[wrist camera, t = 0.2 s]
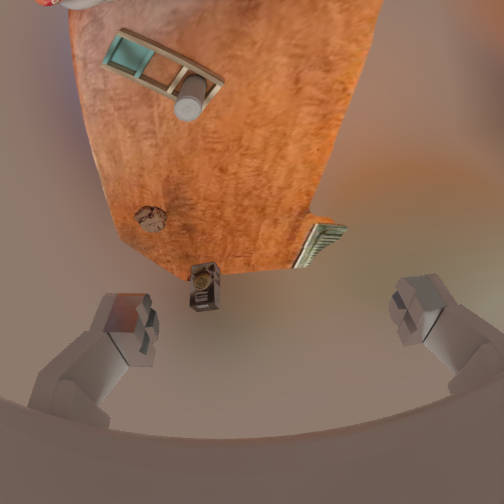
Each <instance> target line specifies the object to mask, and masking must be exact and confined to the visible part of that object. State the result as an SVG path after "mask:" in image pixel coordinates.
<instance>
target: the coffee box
mask: <svg viewBox="0 0 504 504" xmlns="http://www.w3.org/2000/svg"><path fill="white" fill-rule="evenodd" d="M190 307H191V308H193V309H194V310H195V311H196V312H201V311H209V310H216V309H220V269H219V268H218V266H217V265H216V263H215V262H210V263H205V264H199V265H194V266H192V271H191V288H190Z"/></svg>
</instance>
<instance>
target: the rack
mask: <svg viewBox="0 0 504 504" xmlns="http://www.w3.org/2000/svg"><path fill="white" fill-rule="evenodd" d="M122 39H123V40H122ZM121 41H122V42H121ZM120 42H121V43H120ZM119 44H120V45H119ZM118 46H119V47H118ZM117 48H118V49H117ZM116 50H117V51H116ZM115 52H116V53H115ZM155 52H156V53H159V54H161V55H163V56H165V57H167V58H169V59H171V60H173V61H175V62H177V63H179V64H181V65H182V66H183V67H182V69H181V70H180V71H179V73H178V74H177V76H176V77H175V79H174V80H173V82H172V83H171V85H170V86H169V87H167V86H165V85H163V84H161V83H159V82H157V81H155V80H153V79H151V78H149V77H147V76H145V75H142V73H143V71H144V69H145V68H146V66H147V64H148V63H149V61H150V60H151V58H152V56H153V55H154V53H155ZM114 54H115V55H114ZM113 55H114V56H113ZM112 57H113V58H112ZM111 59H112V60H111ZM113 61H114V62H113ZM115 62H116V63H115ZM120 64H121V65H120ZM122 65H123V66H122ZM100 67H102V68H104V69H107V70H109V71H111V72H114V73H116V74H118V75H121V76H123V77H125V78H127V79H130V80H132V81H134V82H136V83H139V84H141V85H143V86H145V87H147V88H149V89H151V90H153V91H155V92H158V93H160V94H162V95H164V96H166V97H168V98H170V99H172V100H174V101H176V99H177V97H178V95H179V92H177V91H175V90H174V88H175V87H176V86H177V84H178V83H179V81H180V80H181V78H182V77H183V76H184V74H185V73H186V71H187V70H188V69H190V70H192V71H194V72H195V73H197V74H199V75H201V76H203V77H204V78H206V79H208V80H210V81H211V82H213V83H215V84H214V85H213V87H212V88H211V89H210V90H209V92H208V93H207V94H206V96H205V97H204V102H203V107H202V111H203V109H204V108H205V107H206V106H207V104H208V103H209V102H210V101H211V99H212V98H213V97H214V96H215V94H216V93H217V92H218V91H219V90H220V88H221V87H222V86H223V85H224V83H225V79H223V78H222V77H220V76H218V75H217V74H215V73H213V72H212V71H210V70H208V69H206V68H205V67H203V66H201V65H199V64H197V63H196V62H194V61H192V60H190V59H188V58H186V57H184V56H182V55H181V54H179V53H177V52H175V51H173V50H171V49H169V48H167V47H165V46H163V45H161V44H158V43H156V42H154V41H152V40H150V39H148V38H145V37H143V36H141V35H139V34H136V33H134V32H132V31H129V30H127V29H125V28H123V29H121V30H119V32H118V33H117V35H116V37H115V39H114V41H113V43H112V44H111V46H110V48H109V50H108V52H107V54H106V56H105V58H104V60H103V62H102V64H101V66H100ZM127 67H128V68H127ZM129 68H130V69H129ZM131 69H132V70H131ZM202 111H201V112H202Z"/></svg>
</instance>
